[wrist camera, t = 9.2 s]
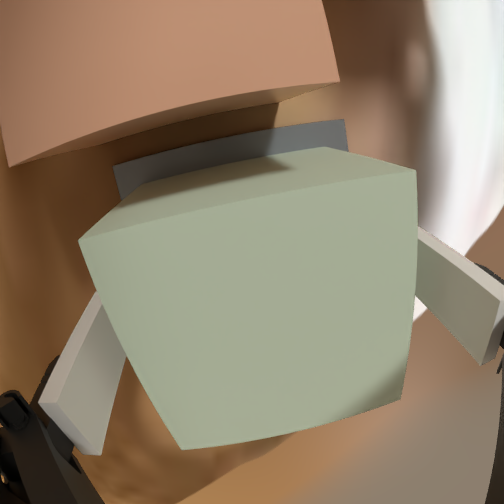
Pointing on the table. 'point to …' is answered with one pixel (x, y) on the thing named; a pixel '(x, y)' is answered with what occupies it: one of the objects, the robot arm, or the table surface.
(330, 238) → the sage cover
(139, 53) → the terracotta cover
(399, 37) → the table surface
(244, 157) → the slate tile
